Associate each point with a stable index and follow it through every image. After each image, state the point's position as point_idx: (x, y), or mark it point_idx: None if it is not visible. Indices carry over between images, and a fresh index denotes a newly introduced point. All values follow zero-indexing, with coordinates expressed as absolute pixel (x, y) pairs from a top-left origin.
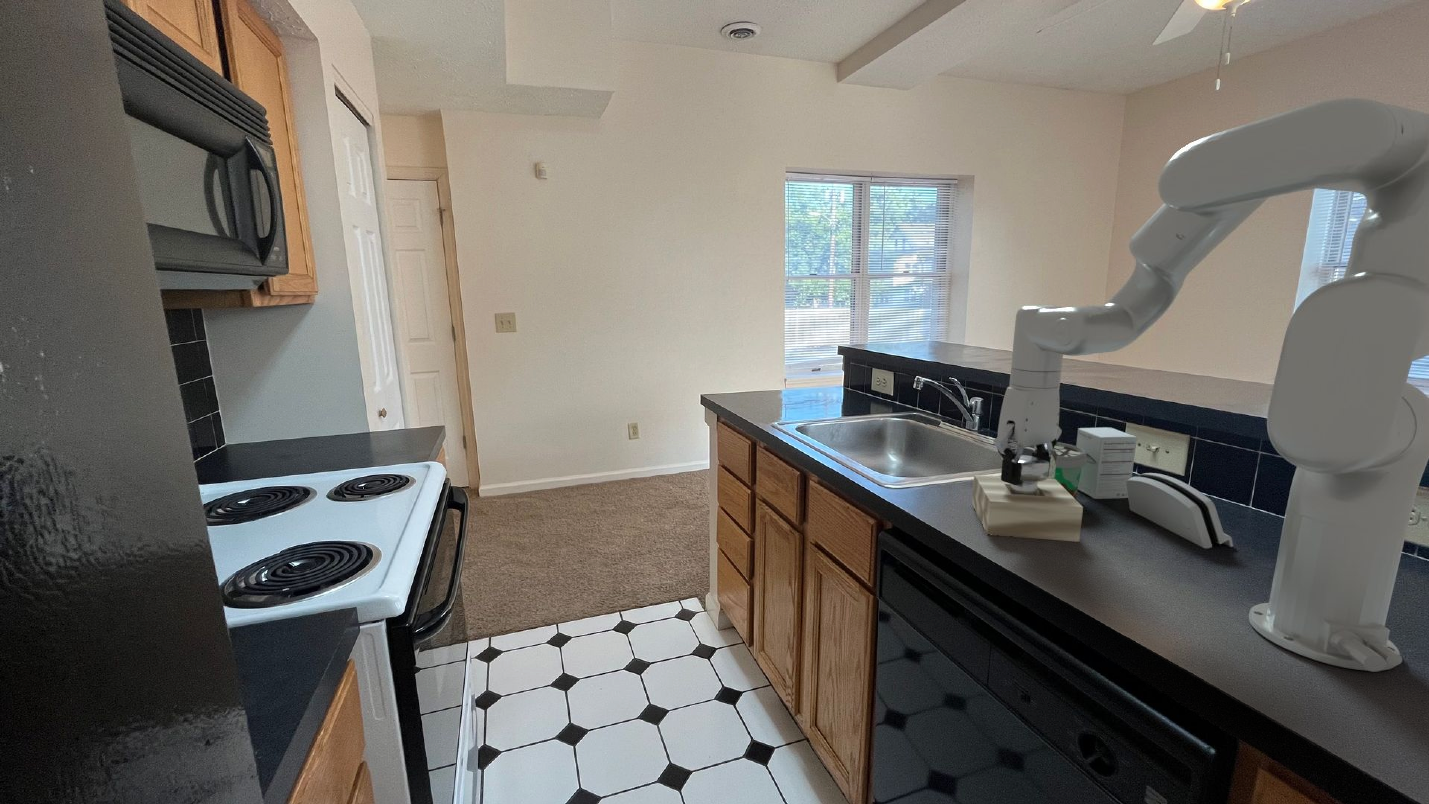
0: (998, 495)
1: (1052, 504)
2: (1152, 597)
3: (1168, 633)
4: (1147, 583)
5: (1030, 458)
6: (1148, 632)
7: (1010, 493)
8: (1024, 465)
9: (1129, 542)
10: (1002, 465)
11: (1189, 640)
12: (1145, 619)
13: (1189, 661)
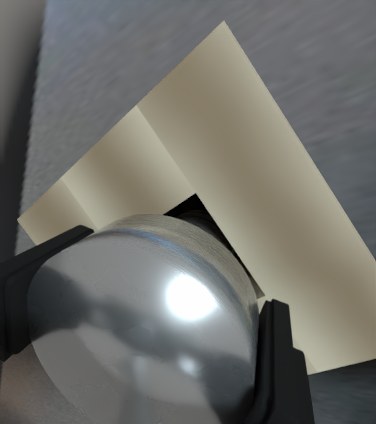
0: (71, 221)
1: None
2: None
3: (32, 407)
4: None
5: (191, 376)
6: (20, 394)
7: None
8: (50, 357)
9: None
10: (25, 253)
11: (36, 419)
12: (38, 394)
13: (8, 413)
